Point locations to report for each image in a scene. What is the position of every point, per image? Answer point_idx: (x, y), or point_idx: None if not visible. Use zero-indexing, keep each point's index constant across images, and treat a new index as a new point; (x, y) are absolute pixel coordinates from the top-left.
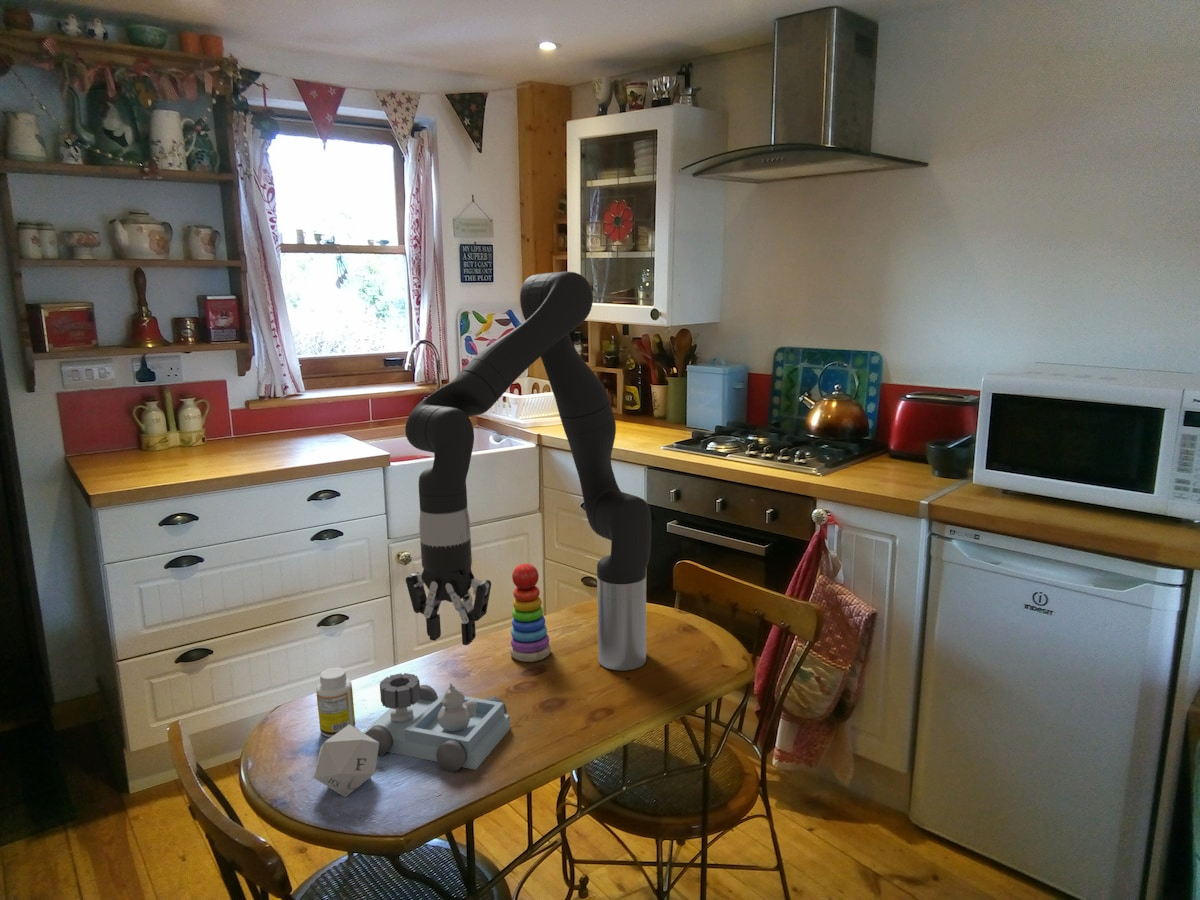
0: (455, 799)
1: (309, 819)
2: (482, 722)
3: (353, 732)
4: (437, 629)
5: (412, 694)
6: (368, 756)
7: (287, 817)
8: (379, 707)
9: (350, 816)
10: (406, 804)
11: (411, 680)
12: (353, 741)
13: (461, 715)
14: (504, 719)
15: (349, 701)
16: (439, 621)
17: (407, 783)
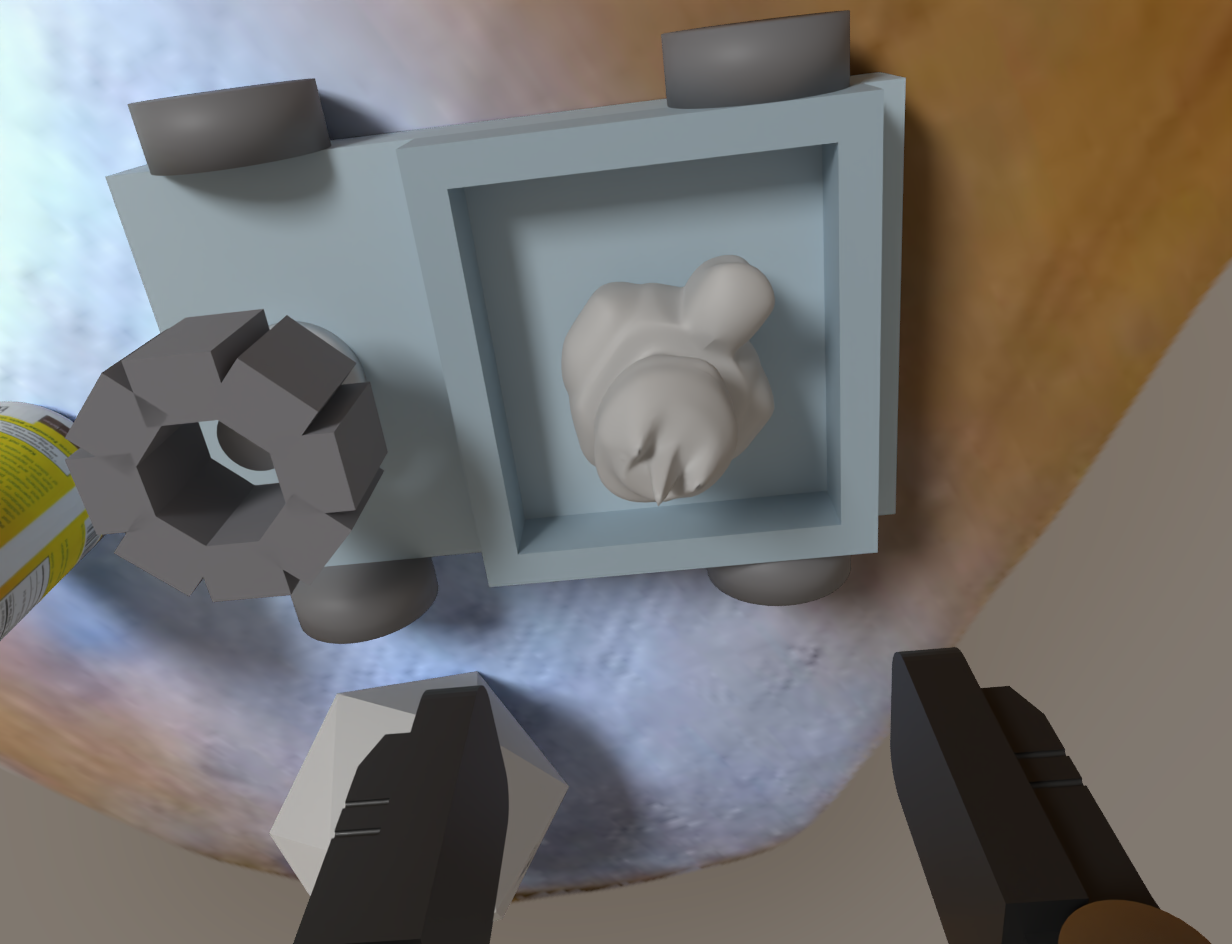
0: (890, 653)
1: None
2: (860, 368)
3: None
4: (480, 819)
5: (366, 486)
6: (535, 844)
7: None
8: (2, 204)
9: (587, 834)
10: (727, 734)
11: (265, 433)
12: None
13: (746, 437)
14: (895, 143)
15: (19, 557)
16: (449, 845)
17: (647, 648)
